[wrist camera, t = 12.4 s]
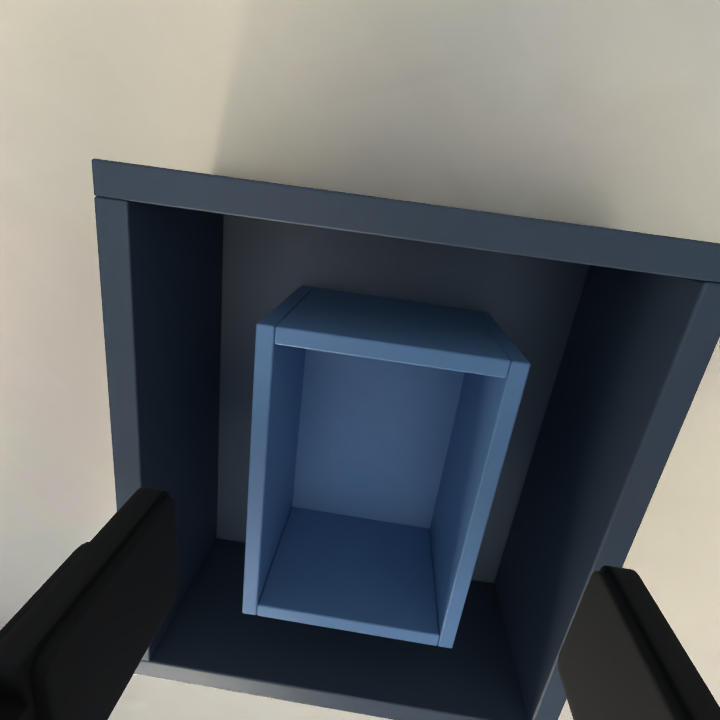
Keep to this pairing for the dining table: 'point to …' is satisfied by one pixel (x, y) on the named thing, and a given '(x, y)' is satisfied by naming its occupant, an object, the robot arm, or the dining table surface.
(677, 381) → the big bin
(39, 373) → the dining table surface
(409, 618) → the small bin
